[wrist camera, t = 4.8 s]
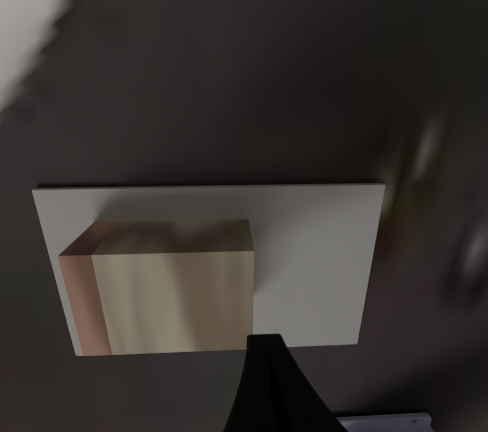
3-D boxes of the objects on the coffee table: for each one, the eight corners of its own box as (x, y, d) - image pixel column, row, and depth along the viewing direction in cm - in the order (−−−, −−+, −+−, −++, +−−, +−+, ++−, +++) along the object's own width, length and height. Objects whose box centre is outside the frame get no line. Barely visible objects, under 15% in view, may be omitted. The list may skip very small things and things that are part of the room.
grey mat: (382, 182, 18) (385, 184, 18) (354, 339, 22) (357, 343, 22) (36, 188, 17) (31, 189, 17) (78, 351, 21) (76, 355, 21)
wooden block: (253, 251, 14) (57, 256, 14) (252, 348, 16) (83, 356, 16) (248, 219, 18) (93, 222, 17) (247, 302, 20) (110, 307, 20)
